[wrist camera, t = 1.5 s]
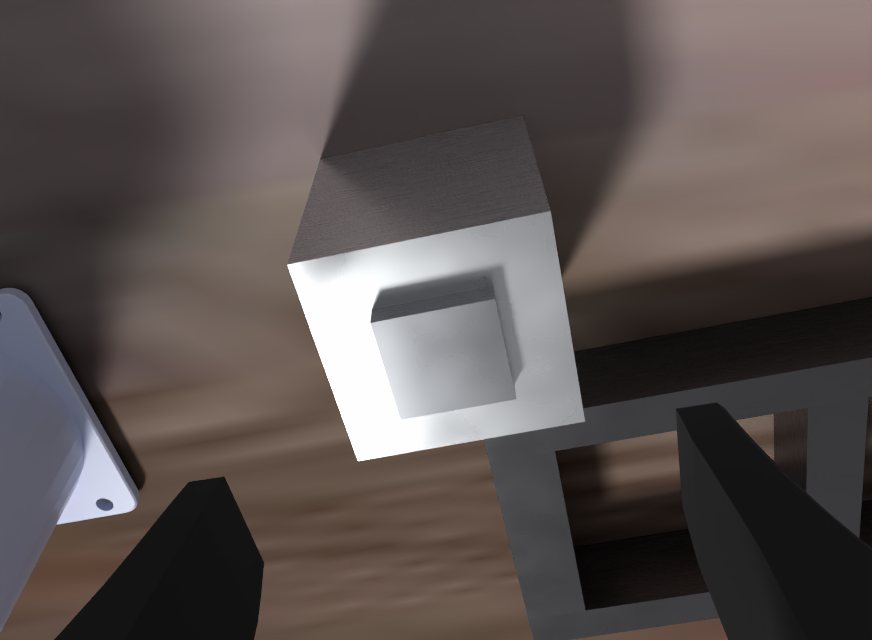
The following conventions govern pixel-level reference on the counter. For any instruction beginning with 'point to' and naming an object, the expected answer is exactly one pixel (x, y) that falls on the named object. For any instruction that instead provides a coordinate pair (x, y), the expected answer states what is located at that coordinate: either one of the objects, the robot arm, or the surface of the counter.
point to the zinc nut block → (437, 291)
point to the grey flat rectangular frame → (656, 413)
